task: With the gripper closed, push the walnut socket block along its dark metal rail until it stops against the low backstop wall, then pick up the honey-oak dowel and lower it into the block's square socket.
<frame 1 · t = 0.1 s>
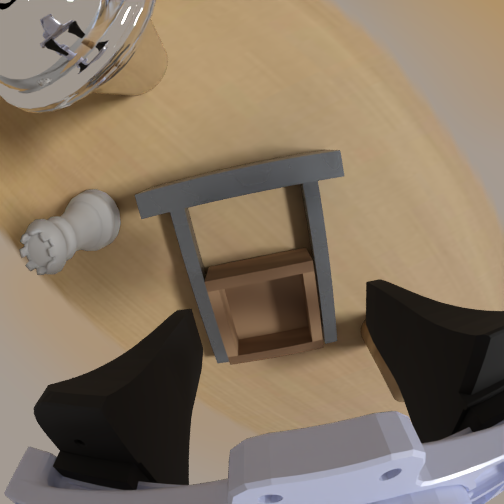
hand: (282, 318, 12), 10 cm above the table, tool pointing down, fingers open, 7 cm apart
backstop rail: (266, 299, 23), on the table
cup with straw: (140, 64, 17), on the table
walnut socket block: (267, 308, 22), point 1 cm above the table, slide at 0.0 cm
rook chess piece: (98, 216, 21), on the table
oak dowel: (379, 327, 24), on the table
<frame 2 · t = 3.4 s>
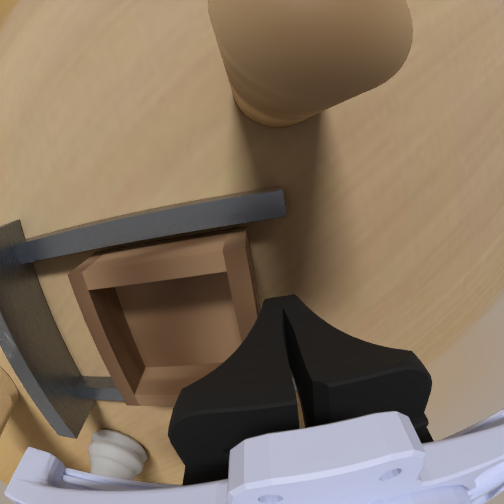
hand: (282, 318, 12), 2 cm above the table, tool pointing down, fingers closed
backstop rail: (195, 310, 14), on the table
walnut socket block: (177, 327, 12), point 1 cm above the table, slide at 0.6 cm, touching gripper
rook chess piece: (120, 442, 18), on the table
oak dowel: (277, 85, 11), on the table
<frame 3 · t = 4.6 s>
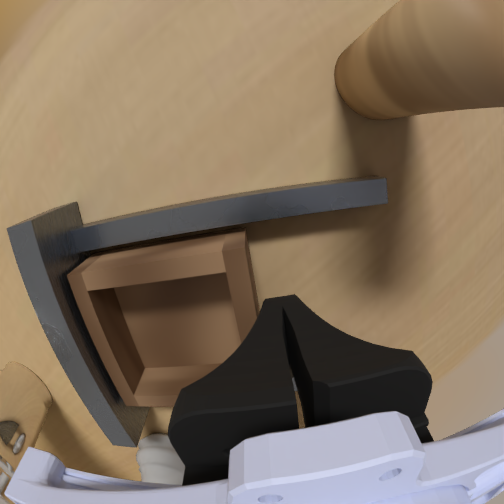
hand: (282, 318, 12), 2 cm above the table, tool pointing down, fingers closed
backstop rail: (285, 298, 14), on the table
cup with straw: (26, 381, 16), on the table
walnut socket block: (176, 328, 12), point 1 cm above the table, slide at 4.7 cm, touching gripper
rook chess piece: (170, 446, 18), on the table
oak dowel: (374, 80, 10), on the table
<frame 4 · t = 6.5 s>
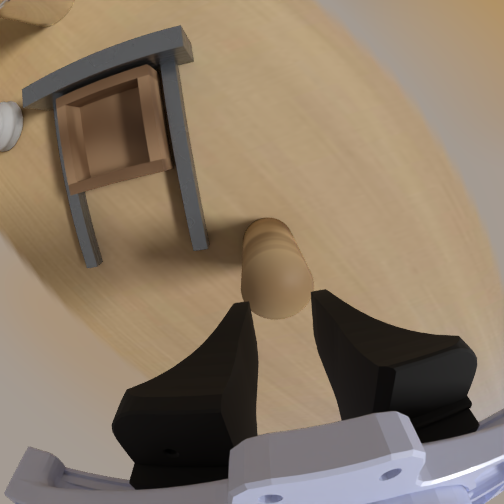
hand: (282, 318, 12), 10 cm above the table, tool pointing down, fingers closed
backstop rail: (131, 195, 20), on the table
cup with straw: (58, 3, 15), on the table
walnut socket block: (112, 131, 18), point 1 cm above the table, slide at 4.7 cm
rook chess piece: (10, 126, 18), on the table
oak dowel: (268, 242, 22), on the table
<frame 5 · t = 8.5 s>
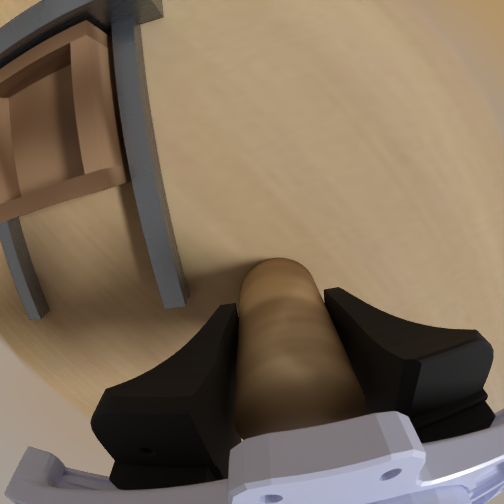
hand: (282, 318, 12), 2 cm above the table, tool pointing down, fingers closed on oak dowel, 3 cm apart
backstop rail: (75, 222, 13), on the table
walnut socket block: (40, 128, 10), point 1 cm above the table, slide at 4.7 cm
oak dowel: (278, 293, 14), on the table, touching gripper
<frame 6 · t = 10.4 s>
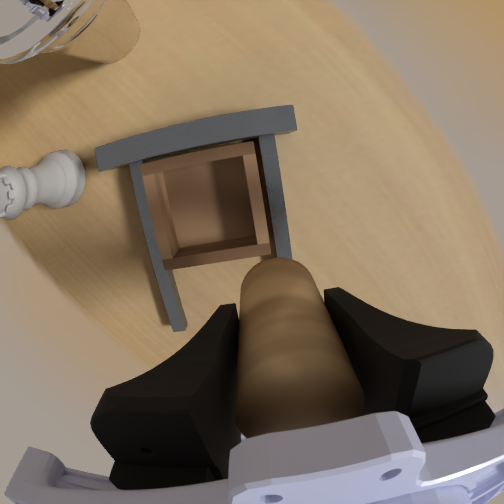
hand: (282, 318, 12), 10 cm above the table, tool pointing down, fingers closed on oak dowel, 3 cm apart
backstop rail: (223, 265, 22), on the table
cup with straw: (116, 35, 17), on the table
walnut socket block: (208, 204, 20), point 1 cm above the table, slide at 4.7 cm
rook chess piece: (67, 177, 20), on the table
oak dowel: (278, 292, 14), point 8 cm above the table, touching gripper
when the fingers open (4 cm above the table, at t = 12.7 s): oak dowel stays where it is, resting on walnut socket block.
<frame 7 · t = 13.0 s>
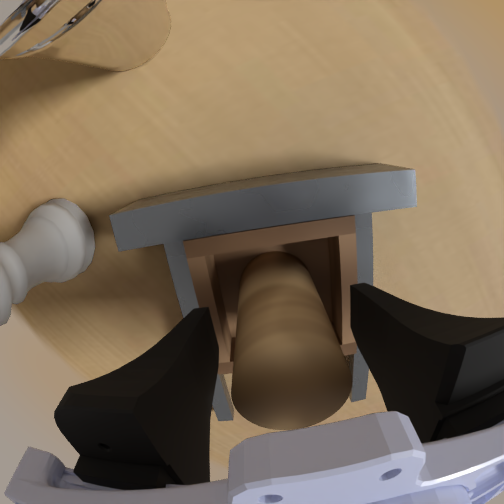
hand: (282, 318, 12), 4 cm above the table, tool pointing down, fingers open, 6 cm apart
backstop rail: (285, 352, 17), on the table
cup with straw: (134, 30, 11), on the table
walnut socket block: (277, 292, 14), point 1 cm above the table, slide at 4.7 cm, touching oak dowel
rook chess piece: (67, 235, 15), on the table
oak dowel: (275, 284, 15), point 1 cm above the table, touching walnut socket block
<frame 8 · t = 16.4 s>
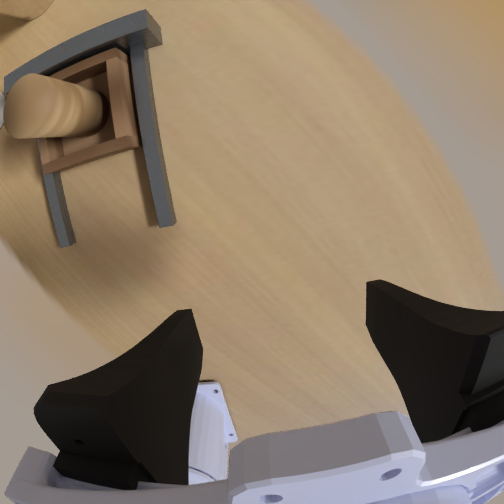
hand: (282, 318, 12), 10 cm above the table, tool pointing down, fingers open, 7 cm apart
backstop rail: (102, 175, 20), on the table
walnut socket block: (83, 112, 17), point 1 cm above the table, slide at 4.7 cm, touching oak dowel
oak dowel: (88, 113, 18), point 1 cm above the table, touching walnut socket block
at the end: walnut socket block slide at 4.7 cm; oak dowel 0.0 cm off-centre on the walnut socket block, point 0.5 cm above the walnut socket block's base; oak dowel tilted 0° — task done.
